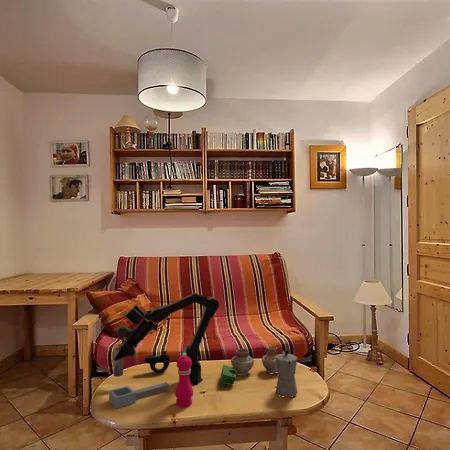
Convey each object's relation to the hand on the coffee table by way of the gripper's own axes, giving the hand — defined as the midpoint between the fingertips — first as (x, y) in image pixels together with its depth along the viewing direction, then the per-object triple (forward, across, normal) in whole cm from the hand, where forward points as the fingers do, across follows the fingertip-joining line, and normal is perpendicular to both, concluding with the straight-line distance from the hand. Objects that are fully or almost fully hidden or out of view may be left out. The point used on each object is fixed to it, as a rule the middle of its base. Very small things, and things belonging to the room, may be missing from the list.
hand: (115, 358), depth 154 cm
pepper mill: (-10, +20, +29) cm, 37 cm away
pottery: (-37, -4, +56) cm, 67 cm away
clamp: (-25, +4, +44) cm, 51 cm away
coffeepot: (-41, +19, +60) cm, 75 cm away
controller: (-4, -14, +22) cm, 27 cm away
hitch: (+1, +10, +17) cm, 20 cm away
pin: (+4, 0, +6) cm, 7 cm away
